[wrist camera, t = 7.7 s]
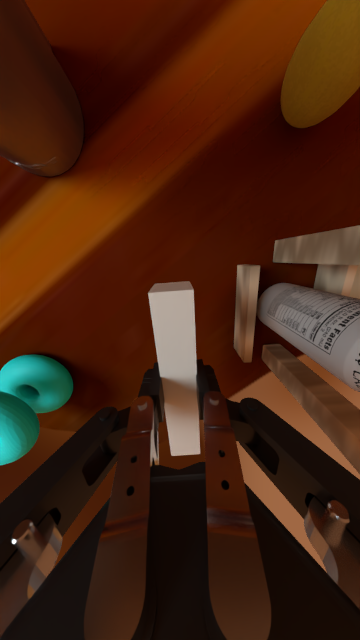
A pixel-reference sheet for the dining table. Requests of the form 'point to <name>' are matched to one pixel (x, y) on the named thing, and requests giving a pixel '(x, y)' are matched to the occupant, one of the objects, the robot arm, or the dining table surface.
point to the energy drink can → (317, 326)
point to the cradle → (306, 386)
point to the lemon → (323, 65)
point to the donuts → (28, 400)
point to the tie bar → (177, 362)
